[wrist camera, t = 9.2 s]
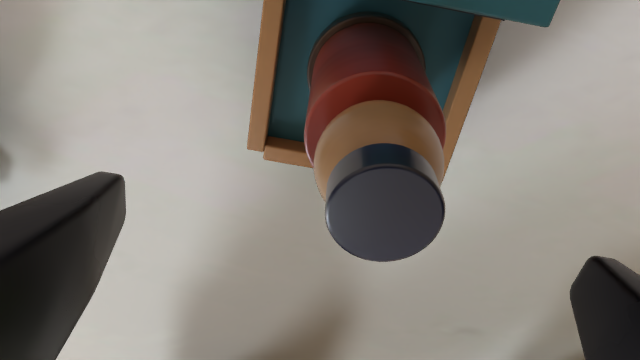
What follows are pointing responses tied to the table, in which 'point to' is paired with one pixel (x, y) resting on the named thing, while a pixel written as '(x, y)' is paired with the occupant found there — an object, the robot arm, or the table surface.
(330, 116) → the figure
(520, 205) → the table surface
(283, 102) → the truck
